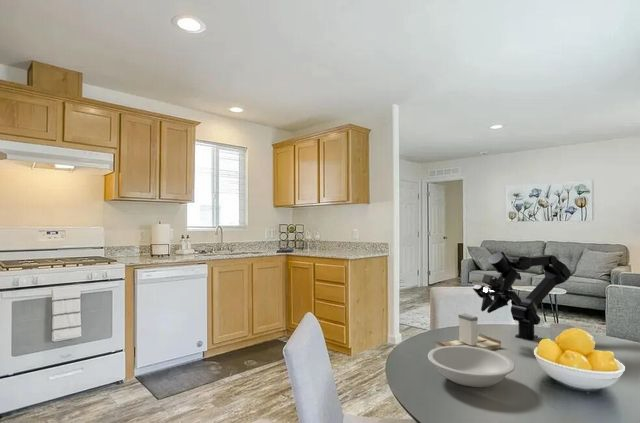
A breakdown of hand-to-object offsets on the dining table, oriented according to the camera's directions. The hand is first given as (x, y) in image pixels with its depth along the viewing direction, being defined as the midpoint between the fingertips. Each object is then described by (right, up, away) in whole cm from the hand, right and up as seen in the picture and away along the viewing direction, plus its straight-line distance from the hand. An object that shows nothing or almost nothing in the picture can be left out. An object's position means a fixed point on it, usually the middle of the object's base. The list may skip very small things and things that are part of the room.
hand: (484, 311), depth 145 cm
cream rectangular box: (-8, -11, -4) cm, 14 cm away
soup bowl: (-19, -12, -33) cm, 40 cm away
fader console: (-8, -13, -4) cm, 15 cm away
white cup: (+23, -12, -11) cm, 28 cm away
